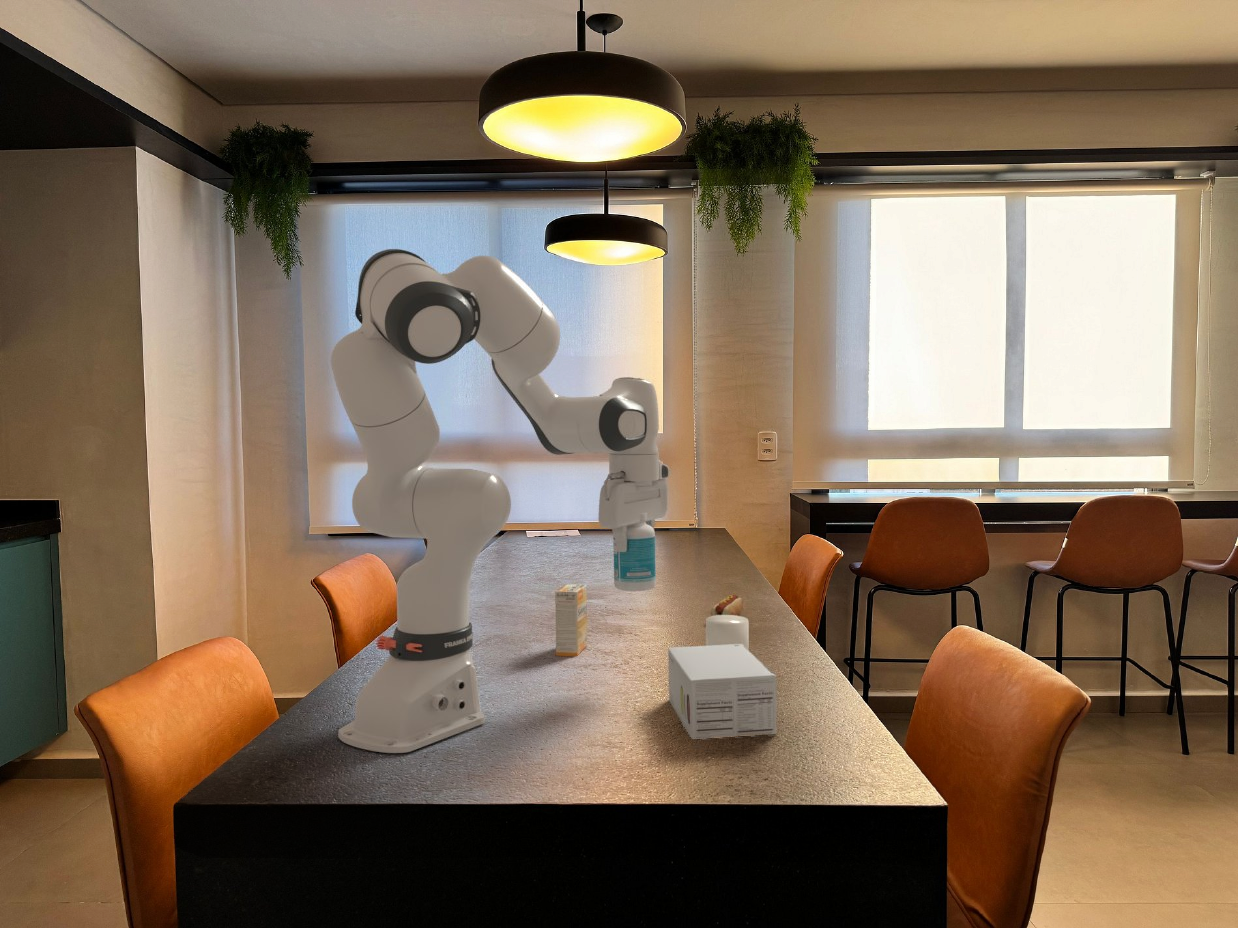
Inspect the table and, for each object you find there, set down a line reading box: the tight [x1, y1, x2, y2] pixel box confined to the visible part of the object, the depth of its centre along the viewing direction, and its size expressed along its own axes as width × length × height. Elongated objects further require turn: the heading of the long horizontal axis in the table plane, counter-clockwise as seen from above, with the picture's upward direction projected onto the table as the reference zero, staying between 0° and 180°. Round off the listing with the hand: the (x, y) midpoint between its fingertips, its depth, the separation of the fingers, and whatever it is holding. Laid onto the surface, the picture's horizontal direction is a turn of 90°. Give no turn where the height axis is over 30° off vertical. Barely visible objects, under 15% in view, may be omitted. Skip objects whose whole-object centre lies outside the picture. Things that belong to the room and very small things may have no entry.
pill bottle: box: [612, 513, 657, 592], centre depth 140 cm, size 8×7×14 cm
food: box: [710, 594, 744, 616], centre depth 187 cm, size 14×6×5 cm, turn 156°
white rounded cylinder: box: [705, 615, 750, 651], centre depth 149 cm, size 8×8×9 cm
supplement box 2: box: [667, 644, 777, 740], centre depth 123 cm, size 17×13×9 cm
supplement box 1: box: [554, 583, 588, 657], centre depth 161 cm, size 8×5×13 cm, turn 168°
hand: (634, 548), depth 140 cm, fingers closed on pill bottle, 7 cm apart
